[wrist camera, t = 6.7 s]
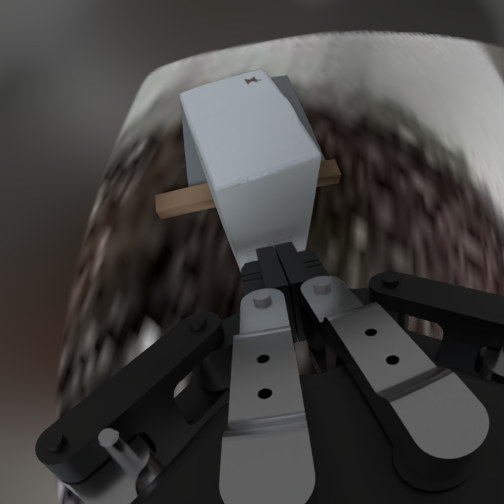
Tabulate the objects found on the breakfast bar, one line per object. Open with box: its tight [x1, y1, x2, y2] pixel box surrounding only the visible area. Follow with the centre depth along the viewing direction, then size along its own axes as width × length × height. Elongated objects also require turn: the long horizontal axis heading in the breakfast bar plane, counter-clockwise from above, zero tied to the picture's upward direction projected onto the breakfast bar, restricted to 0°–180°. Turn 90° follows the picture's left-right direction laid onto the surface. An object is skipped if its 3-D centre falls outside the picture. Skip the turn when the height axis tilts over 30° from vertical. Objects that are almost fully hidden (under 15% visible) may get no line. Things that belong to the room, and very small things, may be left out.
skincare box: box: [180, 69, 321, 271], centre depth 17 cm, size 6×4×12 cm
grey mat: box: [181, 76, 325, 187], centre depth 27 cm, size 11×12×1 cm
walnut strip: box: [155, 159, 341, 219], centre depth 24 cm, size 14×2×1 cm, turn 101°
